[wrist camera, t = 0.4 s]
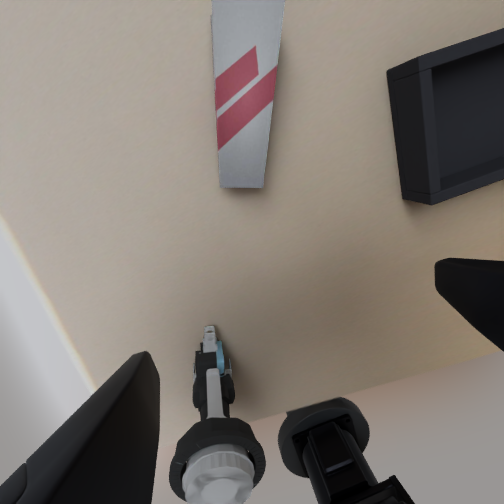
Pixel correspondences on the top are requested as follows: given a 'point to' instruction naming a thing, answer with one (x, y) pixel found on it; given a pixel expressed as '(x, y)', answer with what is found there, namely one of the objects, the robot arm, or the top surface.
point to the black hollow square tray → (450, 119)
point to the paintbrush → (244, 85)
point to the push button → (215, 438)
